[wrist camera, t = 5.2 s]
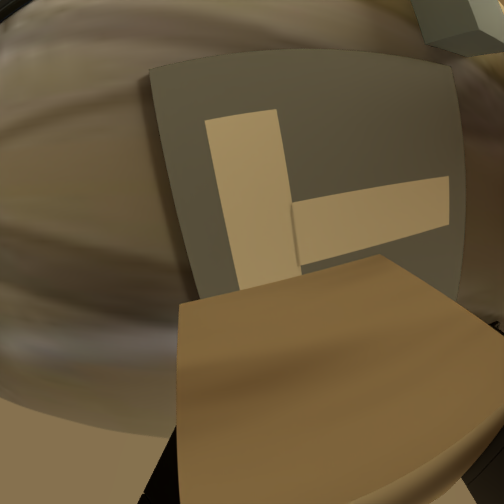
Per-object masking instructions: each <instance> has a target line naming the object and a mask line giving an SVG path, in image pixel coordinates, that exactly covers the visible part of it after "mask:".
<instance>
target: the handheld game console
mask: <svg viewBox="0 0 504 504" xmlns="http://www.w3.org/2000/svg"><path fill="white" fill-rule="evenodd" d="M30 1H32V0H0V22H1V21H2V20H4V19H5V18H7V17H8V16H9V15H11V14H12V13H14V12H15V11H16V10H18V9H19V8H21V7H22V6H24V5H25V4H27V3H28V2H30Z"/></svg>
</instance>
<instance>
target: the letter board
mask: <svg viewBox="0 0 504 504" xmlns="http://www.w3.org/2000/svg"><path fill="white" fill-rule="evenodd" d="M149 76H150V82H151V88H152V95H153V100H154V106H155V112H156V117H157V123H158V128H159V133H160V139H161V144H162V149H163V153H164V158H165V163H166V168H167V172H168V177H169V181H170V186H171V190H172V194H173V199H174V203H175V207H176V211H177V215H178V220H179V224H180V228H181V231H182V235H183V239H184V243H185V247H186V251H187V254H188V258H189V262H190V265H191V269H192V273H193V276H194V280H195V283H196V287H197V290H198V294H199V297H200V299H205V298H209V297H213V296H218V295H222V294H226V293H231V292H235V291H239V290H243V289H248V288H252V287H256V286H260V285H264V284H268V283H272V282H276V281H280V280H284V279H288V278H292V277H296V276H300V275H304V274H308V273H312V272H315V271H319V270H323V269H327V268H331V267H334V266H338V265H342V264H345V263H349V262H353V261H356V260H360V259H364V258H367V257H371V256H374V255H378V254H381V255H382V256H384V257H386V258H387V259H389V260H391V261H392V262H394V263H395V264H397V265H399V266H400V267H402V268H404V269H405V270H407V271H408V272H410V273H412V274H413V275H415V276H416V277H418V278H420V279H421V280H423V281H424V282H426V283H427V284H429V285H430V286H432V287H434V288H435V289H437V290H438V291H440V292H441V293H443V294H444V295H446V296H447V297H449V298H450V299H452V300H453V301H455V302H456V301H457V295H458V289H459V282H460V276H461V268H462V259H463V249H464V237H465V220H466V171H465V154H464V142H463V132H462V124H461V116H460V109H459V103H458V97H457V92H456V87H455V82H454V77H453V73H452V69H451V66H447V65H443V64H438V63H434V62H430V61H425V60H420V59H415V58H409V57H404V56H397V55H391V54H383V53H375V52H366V51H354V50H339V49H277V50H262V51H250V52H240V53H232V54H224V55H217V56H211V57H205V58H199V59H193V60H188V61H183V62H179V63H174V64H170V65H165V66H161V67H157V68H153V69H149Z"/></svg>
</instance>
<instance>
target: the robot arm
mask: <svg viewBox="0 0 504 504" xmlns="http://www.w3.org/2000/svg"><path fill="white" fill-rule="evenodd" d="M499 326H500V322H498V321H496V322H495V323H493V324H492V325H491V326H490V327H492V328H493V329H495V330H496V331H497V332H499V333H500V334H501V335H503V336H504V333H503V332H502V331H501V330H499ZM461 478H462V480H463V481H464V483H465V485H466V486H467V488H468V490H469V491H470V493H471V495H472V496H473V498H474V500H475V501H476V503H477V504H504V425H503V427H502V428H501V429H500V431H499V432H498V434H497V435H496V436H495V438H494V439H493V440H492V442H491V443H490V444H489V445H488V447H487V448H486V449H485V450H484V452H483V453H482V454H481V455H480V456H479V458H478V459H477V460H476V461H475V462H474V463H473V465H472V466H471V467H470V468H469V469H468V470H467V471H466V472H465V473H464V475H463V476H462V477H461ZM137 504H180V493H179V478H178V458H177V425H176V427H175V429H174V431H173V433H172V435H171V437H170V439H169V441H168V443H167V445H166V447H165V449H164V451H163V453H162V455H161V457H160V459H159V461H158V464H157V465H156V468H155V469H154V471H153V474H152V475H151V477H150V479H149V481H148V483H147V485H146V488H145V490H144V494H142V495H141V497H140V499H139V501H138V503H137Z"/></svg>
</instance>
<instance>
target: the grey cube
mask: <svg viewBox="0 0 504 504" xmlns="http://www.w3.org/2000/svg"><path fill="white" fill-rule="evenodd" d="M411 3H412V6H413V8H414V11H415V14H416V17H417V20H418V23H419V26H420V29H421V32H422V36H423V39H424V42H425V44H426V45H430V46H434V47H437V48H440V49H444V50H447V51H450V52H453V53H456V54H459V55H462V56H465V57H472V56H478V55H484V54H491V53H499V52H504V15H503V12H502V10H501V7H500V5H499V2H498V0H411Z"/></svg>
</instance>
